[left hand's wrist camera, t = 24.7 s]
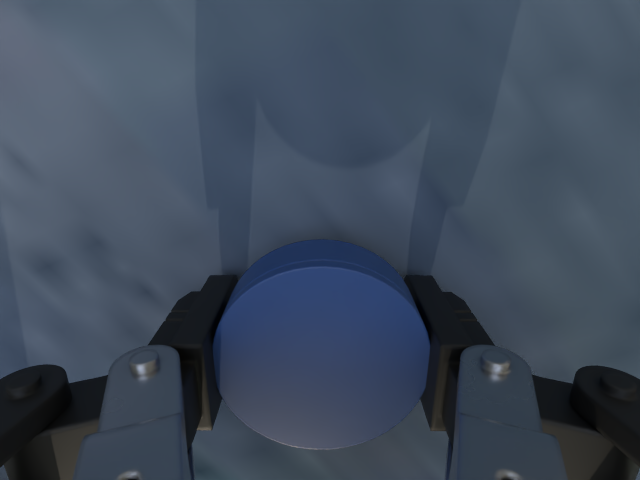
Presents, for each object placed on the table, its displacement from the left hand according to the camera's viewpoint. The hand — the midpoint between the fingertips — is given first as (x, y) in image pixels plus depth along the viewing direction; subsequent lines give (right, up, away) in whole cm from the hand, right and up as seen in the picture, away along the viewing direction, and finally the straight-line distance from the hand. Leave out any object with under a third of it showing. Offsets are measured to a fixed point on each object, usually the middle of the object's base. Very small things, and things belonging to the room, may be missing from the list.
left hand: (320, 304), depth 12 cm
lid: (0, -1, -2) cm, 3 cm away
